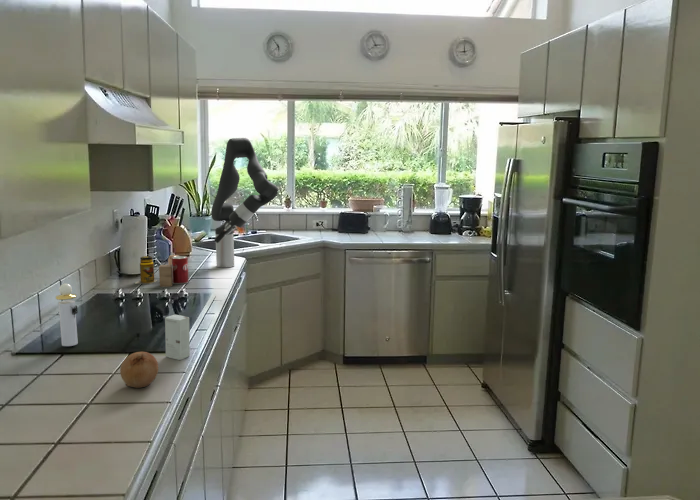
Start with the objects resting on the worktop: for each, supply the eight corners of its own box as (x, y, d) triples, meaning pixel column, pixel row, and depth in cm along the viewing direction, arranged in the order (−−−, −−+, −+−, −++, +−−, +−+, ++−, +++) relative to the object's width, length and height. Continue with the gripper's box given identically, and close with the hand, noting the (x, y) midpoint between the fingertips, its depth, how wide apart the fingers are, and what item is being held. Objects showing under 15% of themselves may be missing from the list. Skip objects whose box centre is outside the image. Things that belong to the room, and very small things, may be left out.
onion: (144, 401, 155) (142, 374, 149) (113, 388, 157) (110, 360, 151) (166, 376, 162) (165, 350, 157) (136, 364, 164) (134, 337, 159)
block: (161, 284, 275) (160, 265, 274) (172, 284, 276) (171, 264, 275) (160, 286, 270) (159, 267, 269) (171, 286, 271) (170, 266, 270)
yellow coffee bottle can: (151, 284, 276) (150, 258, 274) (133, 283, 277) (132, 257, 275) (158, 280, 283) (156, 255, 281) (140, 280, 284) (139, 255, 282)
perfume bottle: (57, 349, 185) (52, 286, 182) (62, 343, 191) (57, 281, 187) (77, 348, 186) (72, 285, 183) (81, 342, 192) (77, 281, 189)
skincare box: (165, 357, 179) (163, 317, 177) (176, 352, 183) (174, 313, 181) (180, 360, 176) (178, 320, 174) (191, 356, 180) (189, 316, 178)
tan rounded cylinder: (171, 277, 290) (170, 254, 288) (183, 277, 290) (182, 254, 288) (167, 280, 285) (166, 256, 283) (179, 280, 284) (177, 256, 282)
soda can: (172, 284, 274) (170, 258, 272) (173, 281, 281) (171, 256, 279) (188, 284, 276) (187, 258, 274) (189, 280, 283) (188, 255, 281)
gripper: (239, 207, 278) (214, 233, 281) (232, 210, 265) (205, 237, 268) (251, 219, 278) (225, 244, 281) (244, 222, 265) (217, 249, 268)
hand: (216, 241), depth 274 cm, fingers closed
